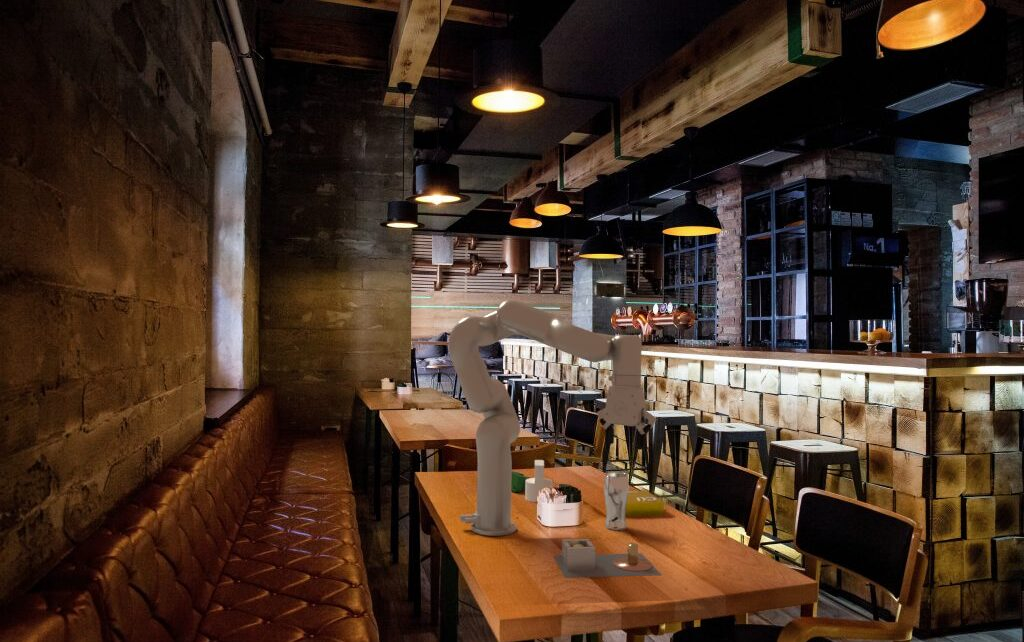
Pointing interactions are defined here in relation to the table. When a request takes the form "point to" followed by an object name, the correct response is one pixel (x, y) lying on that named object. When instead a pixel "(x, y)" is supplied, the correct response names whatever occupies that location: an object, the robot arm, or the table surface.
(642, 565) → the peg on flat base
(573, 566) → the steel collar
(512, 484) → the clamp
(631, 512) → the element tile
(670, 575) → the table surface
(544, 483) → the cylinder with rectangular tab
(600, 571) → the stand board
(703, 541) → the table surface
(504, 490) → the robot arm
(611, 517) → the beer glass
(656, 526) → the table surface
